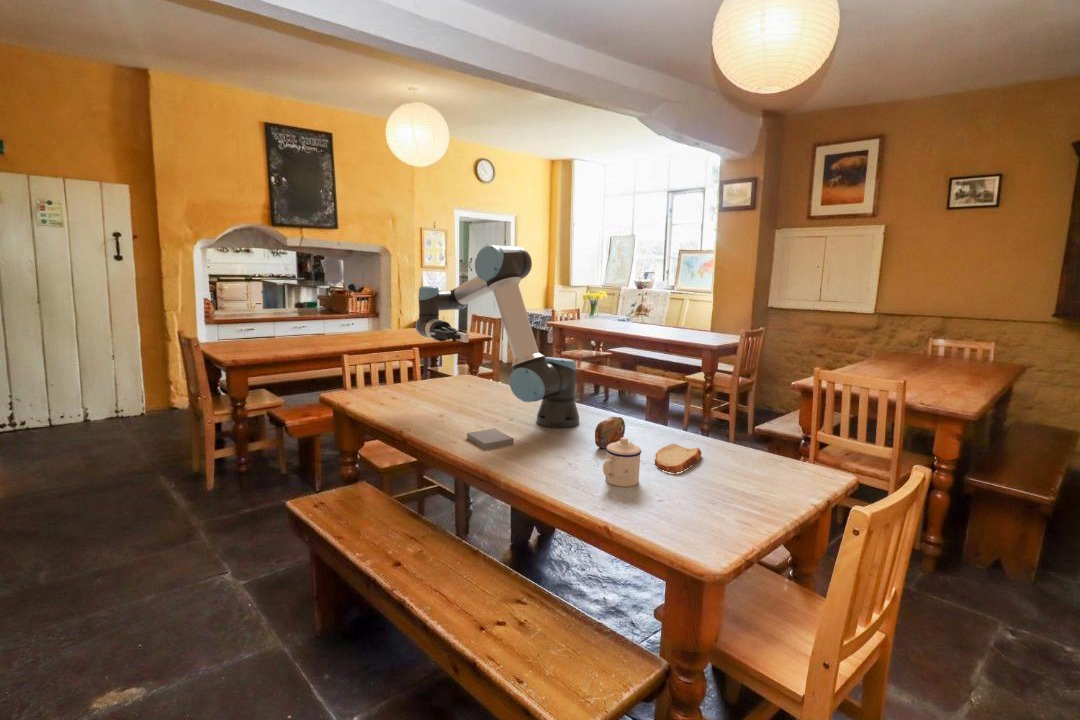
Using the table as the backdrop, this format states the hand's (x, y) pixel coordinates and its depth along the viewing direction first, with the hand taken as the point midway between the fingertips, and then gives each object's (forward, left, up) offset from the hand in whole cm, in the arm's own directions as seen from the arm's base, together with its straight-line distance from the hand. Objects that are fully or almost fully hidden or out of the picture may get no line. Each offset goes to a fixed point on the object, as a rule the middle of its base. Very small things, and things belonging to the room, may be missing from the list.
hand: (466, 338), depth 189 cm
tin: (-50, +8, -30) cm, 59 cm away
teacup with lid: (-55, +38, -30) cm, 73 cm away
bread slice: (-71, +17, -31) cm, 79 cm away
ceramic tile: (-9, +11, -29) cm, 33 cm away
